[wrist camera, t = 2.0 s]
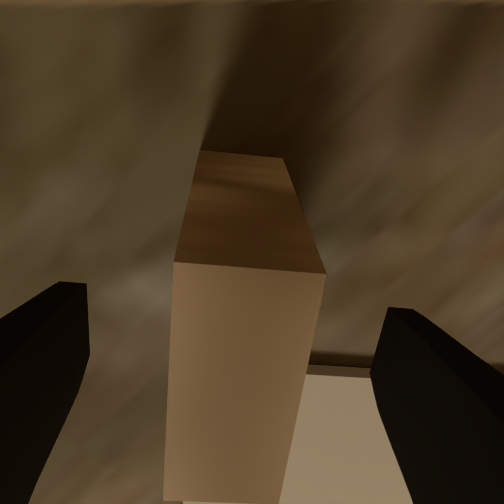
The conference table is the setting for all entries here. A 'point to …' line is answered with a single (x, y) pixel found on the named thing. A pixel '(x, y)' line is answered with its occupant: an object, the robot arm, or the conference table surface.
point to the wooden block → (238, 331)
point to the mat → (340, 444)
